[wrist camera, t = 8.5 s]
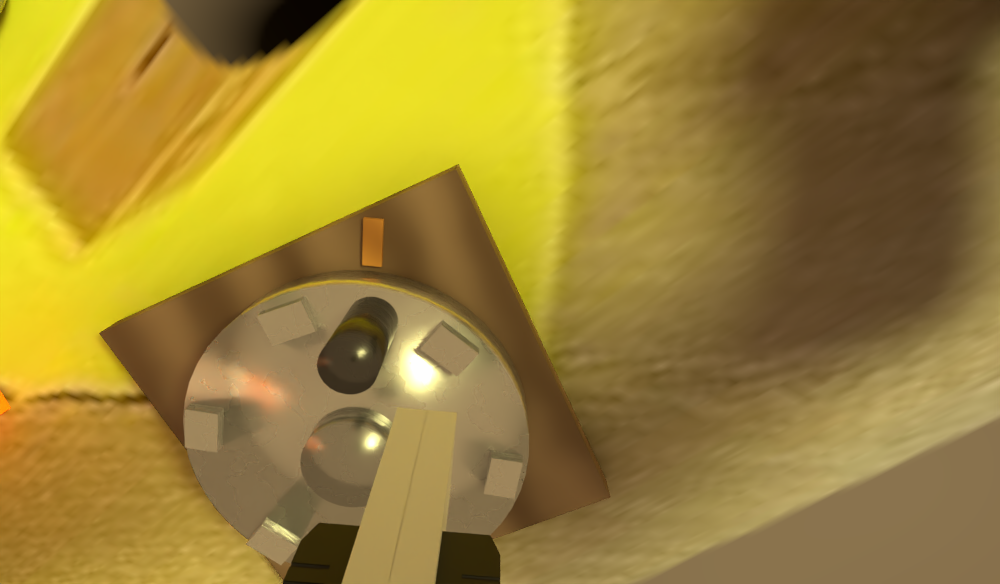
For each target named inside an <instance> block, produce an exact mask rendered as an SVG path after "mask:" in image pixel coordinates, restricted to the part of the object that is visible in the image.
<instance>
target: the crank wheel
mask: <svg viewBox="0 0 1000 584" xmlns="http://www.w3.org/2000/svg"><path fill="white" fill-rule="evenodd" d="M398 407H399V408H410V409H422V410H433V411H444V412H455V413H457V419H456V431H455V442H454V453H453V465H452V476H451V488H450V499H449V507H448V515H447V523H446V531H447V532H459V533H471V534H483V535H491V534H492V533H493V532H494V531H495V530H496V529H497V527H498V526H499V525H500V524H501V523H502V522H503V520H504V519H505V517H506V516H507V515H508V513H509V512H510V510H511V509H512V507H513V505H514V503H515V501H516V499H517V497H518V495H519V493H520V491H521V488H522V484H523V481H524V478H525V475H526V470H527V464H528V458H529V432H528V418H527V408H526V401H525V395H524V391H523V387H522V384H521V381H520V377H519V374H518V372H517V370H516V368H515V366H514V364H513V362H512V359H511V357H510V356H509V354H508V353H507V351H506V349H505V348H504V346H503V345H502V343H501V342H500V340H499V339H498V338H497V337H496V336H495V334H494V333H493V332H492V331H491V330H490V329H489V327H488V326H487V325H486V324H485V323H484V322H483V321H482V320H481V319H479V318H478V317H477V316H476V315H475V314H474V313H473V312H472V311H470V310H469V309H468V308H466V307H465V306H464V305H462V304H461V303H459V302H458V301H456V300H455V299H453V298H452V297H450V296H448V295H447V294H445V293H443V292H441V291H439V290H437V289H435V288H433V287H431V286H429V285H426V284H423V283H421V282H418V281H415V280H412V279H410V278H406V277H402V276H398V275H394V274H389V273H384V272H375V271H366V270H340V271H332V272H325V273H318V274H314V275H311V276H307V277H303V278H300V279H296V280H294V281H291V282H289V283H287V284H284V285H282V286H280V287H277V288H276V289H274V290H272V291H271V292H269V293H267V294H266V295H264V296H262V297H261V298H259V299H258V300H257V301H255V302H254V303H253V304H252V305H251V306H249V307H248V308H247V309H246V310H244V311H243V312H242V313H241V314H240V315H239V316H238V317H237V318H235V319H234V320H233V321H232V322H231V323H230V324H229V325H228V326H227V327H225V328H224V329H223V330H222V331H221V332H220V333H219V335H218V336H217V337H216V338H215V339H214V340H213V341H212V343H211V344H210V345H209V346H208V347H207V349H206V350H205V352H204V354H203V355H202V357H201V358H200V360H199V361H198V363H197V365H196V367H195V370H194V372H193V375H192V377H191V379H190V382H189V385H188V389H187V394H186V398H185V403H184V416H183V425H184V438H185V448H187V452H188V456H189V460H190V462H191V465H192V468H193V470H194V473H195V475H196V478H197V479H198V481H199V483H200V485H201V487H202V489H203V490H204V492H205V494H206V495H207V497H208V498H209V500H210V501H211V502H212V504H213V505H214V506H215V508H216V509H217V511H218V512H219V513H220V514H221V515H222V516H223V517H224V518H225V519H226V520H227V521H228V522H229V523H230V524H231V525H232V526H233V527H234V528H235V529H236V530H237V531H239V532H240V533H241V534H242V535H243V536H244V537H246V538H247V539H248V541H247V543H246V545H248V546H250V547H251V548H253V549H255V550H256V551H258V552H260V553H261V554H263V555H265V556H266V557H268V558H270V559H271V560H273V561H275V562H276V563H278V564H280V565H282V564H283V563H284V562H285V561H286V562H288V563H291V562H292V559H293V557H294V555H295V553H296V550H297V548H298V546H299V543H300V541H301V540H302V539H303V538H304V537H305V536H306V535H307V534H308V533H309V532H310V531H311V530H312V529H313V528H314V527H315V526H316V525H317V524H318V523H319V522H320V523H332V524H344V525H356V526H360V524H361V521H362V518H363V515H364V511H365V508H366V505H367V502H368V499H369V496H370V493H371V489H372V486H373V483H374V480H375V477H376V474H377V471H378V467H379V464H380V461H381V458H382V455H383V452H384V449H385V445H386V442H387V439H388V436H389V433H390V430H391V427H392V423H393V420H394V417H395V414H396V411H397V408H398Z"/></svg>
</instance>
